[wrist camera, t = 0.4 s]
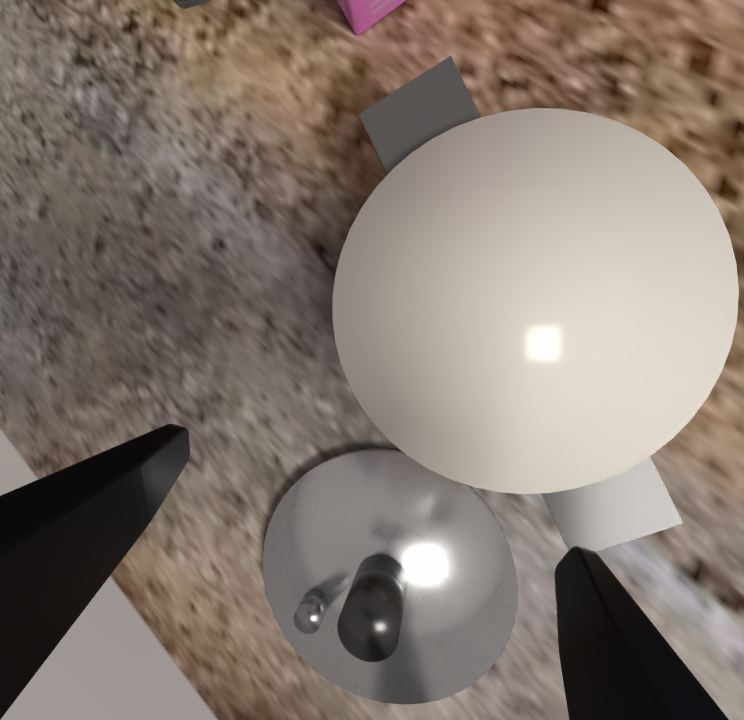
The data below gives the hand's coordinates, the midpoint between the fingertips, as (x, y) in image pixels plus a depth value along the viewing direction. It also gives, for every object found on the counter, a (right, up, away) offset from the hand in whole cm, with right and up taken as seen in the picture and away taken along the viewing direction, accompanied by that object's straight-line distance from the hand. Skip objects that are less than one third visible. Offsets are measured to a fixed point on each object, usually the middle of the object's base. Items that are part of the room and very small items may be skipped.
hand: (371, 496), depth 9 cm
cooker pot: (+7, +5, +12) cm, 15 cm away
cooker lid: (+1, -10, +14) cm, 17 cm away
